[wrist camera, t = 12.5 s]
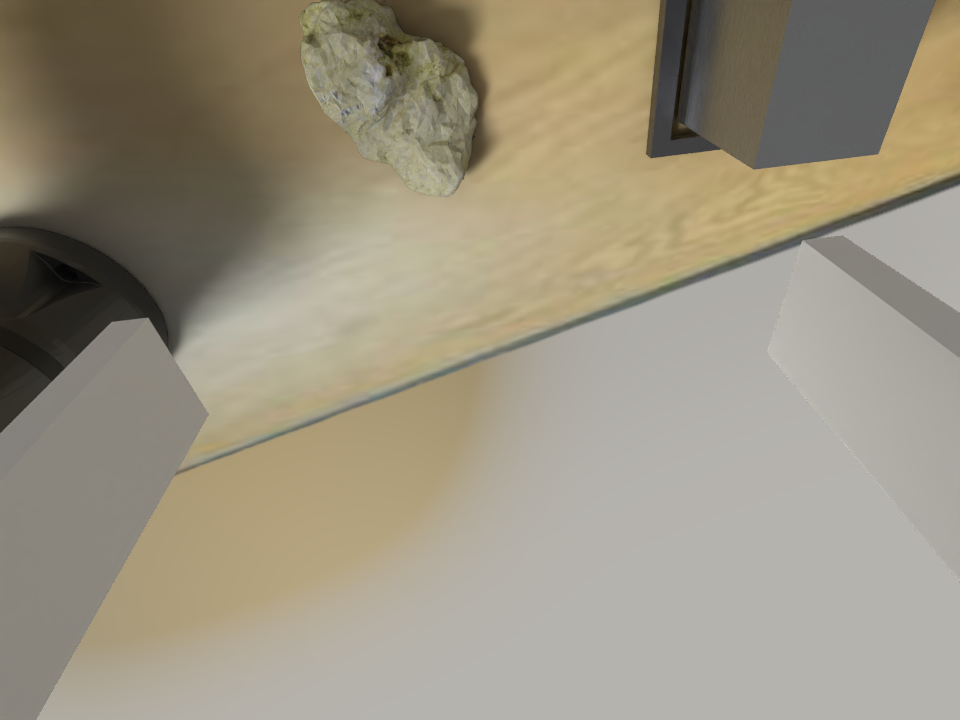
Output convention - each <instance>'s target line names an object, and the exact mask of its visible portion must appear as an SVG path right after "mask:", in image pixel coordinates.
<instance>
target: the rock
mask: <svg viewBox="0 0 960 720" xmlns="http://www.w3.org/2000/svg"><path fill="white" fill-rule="evenodd" d="M300 24H301V26H302V29H303V32H304V36H303V40H302V43H301V59H302V63H303V66H304V69H305V74H306V78H307V83H308V85H309V87H310V89H311V90H312V92H313V94H314V95H315V97H316V98H317V100H318V101H319V103H320V105H321V108H322V110H323V111H324V113H325V114H326V115H327V116H328V117H329V118H331V119H332V120H333V121H335V122H336V123H337V124H338V125H339V126H341V127H342V129H343V130H344V131H345V132H346V133H348V134H349V135H350V136H351V137H352V139H353V141H354V142H355V144H356V146H357V148H358V150H359V152H360V154H361V155H362V156H363V157H364V158H366V159H369V160H375V161H378V162H384V163H387V164H390V165H392V166H393V168H394V169H395V170H396V171H397V172H398V174H399V175H400V176H401V177H402V179H403V181H404V182H405V184H406V186H407V187H408V188H410V189H412V190H414V191H415V192H418V193H421V194H426V195H433V196H439V197H447V196H450V195H452V194H453V193H454V192H455V191H456V190H457V188H458V187H459V185H460V183H461V181H462V179H464V178H463V177H464V175H465V172H466V170H467V168H468V162H469V159H470V156H471V141H472V140H473V138H474V137H475V136H473V132H474V131H475V127H476V125H477V120H476V119H475V117H474V115H475V113H476V110H477V108H478V102H479V101H478V94H477V91H476V90H475V89H474V88H473V87H472V85H471V82H470V77H469V73H468V69H467V67H466V66H464V60H463V59H462V58H461V57H460V56H458V55H457V54H455V53H454V52H453V51H451V50H450V49H449V48H448V47H445V46H444V45H443V44H442V43H441V42H434V41H433V40H432V39H430V38H428V37H422V38H421V37H419V36H412V35H408V34H404V32H403V31H402V30H401V28H400V27H399V25H398V22H397V18H396V16H395V13H394V11H393V10H392V9H391V8H390V7H388V6H387V5H382V6H380V5H379V4H378V3H377V2H375V1H374V0H350V1H348V2H347V3H345V2H343V1H341V0H322V1H321V2H314V3H311V4H310V5H309V6H308V7H307V8H306V10H304V11H302V13H301V15H300Z"/></svg>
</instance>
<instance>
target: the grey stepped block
mask: <svg viewBox="0 0 960 720" xmlns="http://www.w3.org/2000/svg"><path fill="white" fill-rule="evenodd" d="M935 1H936V0H692V4H691V12H690V20H689V28H688V36H687V44H686V52H685V60H684V68H683V75H682V83H681V91H680V99H679V107H678V115H677V121H678V122H680V123H681V124H683V125H684V126H686V127H688V128H689V129H691V130H692V131H694V132H695V133H697V134H699V135H700V136H702V137H703V138H705V139H706V140H708V141H710V142H711V143H713V144H714V145H716V146H717V147H719V148H721V149H722V150H724V151H725V152H727V153H729V154H730V155H732V156H733V157H735V158H736V159H738V160H740V161H741V162H743V163H744V164H746V165H747V166H749V167H751V168H752V169H762V168H770V167H778V166H786V165H794V164H802V163H811V162H819V161H827V160H835V159H843V158H851V157H859V156H867V155H875V154H878V153H879V151H880V148H881V145H882V143H883V140H884V137H885V135H886V132H887V129H888V126H889V124H890V121H891V118H892V116H893V113H894V110H895V108H896V105H897V102H898V100H899V97H900V94H901V92H902V89H903V86H904V84H905V81H906V78H907V76H908V73H909V70H910V68H911V65H912V62H913V59H914V57H915V54H916V51H917V49H918V46H919V43H920V41H921V38H922V35H923V33H924V30H925V27H926V25H927V22H928V19H929V17H930V14H931V11H932V9H933V6H934V3H935Z"/></svg>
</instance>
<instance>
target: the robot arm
mask: <svg viewBox="0 0 960 720" xmlns="http://www.w3.org/2000/svg"><path fill="white" fill-rule="evenodd" d="M167 347H168V335H167V329H166V325H165V322H164V319H163V317H162V315H161V312H160V310H159V309H158V307H157V305H156V304H155V302H154V300H153V299H152V298H151V296H150V295H149V294H148V292H147V291H146V290H145V289H144V288H143V287H142V285H141V284H140V283H139V282H138V281H137V280H136V279H135V278H134V277H133V276H132V275H130V274H129V273H128V272H127V271H126V270H125V269H123V268H122V267H121V266H119V265H118V264H117V263H115V262H114V261H112V260H111V259H109V258H108V257H106V256H105V255H103V254H101V253H100V252H98V251H96V250H94V249H93V248H91V247H89V246H87V245H85V244H82V243H80V242H78V241H75V240H73V239H70V238H68V237H65V236H62V235H59V234H55V233H52V232H48V231H43V230H38V229H32V228H21V227H7V228H0V720H36V719H37V717H38V715H39V714H40V712H41V710H42V708H43V707H44V705H45V703H46V701H47V699H48V697H49V696H50V694H51V692H52V691H53V689H54V687H55V685H56V683H57V682H58V680H59V678H60V677H61V675H62V673H63V671H64V669H65V668H66V666H67V664H68V662H69V661H70V659H71V657H72V655H73V653H74V652H75V650H76V648H77V646H78V645H79V643H80V641H81V639H82V638H83V636H84V634H85V632H86V631H87V629H88V627H89V625H90V623H91V621H92V620H93V618H94V616H95V614H96V613H97V611H98V609H99V607H100V606H101V604H102V602H103V600H104V599H105V597H106V595H107V593H108V592H109V590H110V588H111V586H112V584H113V583H114V581H115V579H116V577H117V576H118V574H119V572H120V570H121V569H122V567H123V565H124V563H125V562H126V560H127V558H128V556H129V555H130V553H131V551H132V549H133V547H134V546H135V544H136V542H137V540H138V539H139V537H140V535H141V533H142V532H143V530H144V528H145V526H146V524H147V523H148V521H149V519H150V517H151V516H152V514H153V512H154V510H155V509H156V507H157V505H158V503H159V501H160V500H161V498H162V496H163V494H164V493H165V491H166V489H167V487H168V486H169V484H170V482H171V480H172V478H173V477H174V475H175V473H176V471H177V470H178V468H179V466H180V464H181V463H182V461H183V459H184V457H185V455H186V454H187V452H188V450H189V448H190V447H191V445H192V443H193V441H194V440H195V438H196V436H197V434H198V433H199V431H200V429H201V427H202V425H203V424H204V422H205V420H206V418H207V417H208V415H209V414H208V412H207V411H206V409H205V408H204V406H203V404H202V403H201V401H200V400H199V398H198V396H197V395H196V393H195V392H194V390H193V388H192V387H191V385H190V384H189V382H188V380H187V379H186V377H185V376H184V374H183V372H182V371H181V369H180V368H179V366H178V364H177V363H176V361H175V360H174V358H173V357H172V355H171V353H170V352H169V350H168V349H167ZM767 353H768V354H769V355H770V357H771V358H772V359H773V360H774V361H775V363H776V364H777V365H778V366H779V367H780V369H781V370H782V371H783V372H784V373H785V375H786V376H787V377H788V378H789V379H790V381H791V382H792V383H793V384H794V385H795V386H796V388H797V389H798V390H799V391H800V392H801V394H802V395H803V396H804V397H805V398H806V400H807V401H808V402H809V403H810V404H811V405H812V407H813V408H814V409H815V410H816V411H817V413H818V414H819V415H820V416H821V417H822V419H823V420H824V421H825V422H826V423H827V425H828V426H829V427H830V428H831V429H832V431H833V432H834V433H835V434H836V435H837V437H838V438H839V439H840V440H841V441H842V443H843V444H844V445H845V446H846V447H847V449H848V450H849V451H850V452H851V453H852V454H853V456H854V457H855V458H856V459H857V460H858V462H859V463H860V464H861V465H862V466H863V468H864V469H865V470H866V471H867V472H868V474H869V475H870V476H871V477H872V478H873V479H874V481H875V482H876V483H877V484H878V485H879V487H880V488H881V489H882V490H883V491H884V493H885V494H886V495H887V496H888V497H889V499H890V500H891V501H892V502H893V503H894V505H895V506H896V507H897V508H898V509H899V511H900V512H901V513H902V514H903V515H904V517H905V518H906V519H907V520H908V521H909V522H910V524H911V525H912V526H913V527H914V528H915V530H917V532H918V533H919V534H920V536H921V537H922V538H923V539H924V540H925V542H926V543H927V544H928V545H929V546H930V548H931V549H932V550H933V551H934V552H935V553H936V555H937V556H938V557H939V558H940V559H941V561H942V562H943V563H944V564H945V565H946V566H947V568H948V569H949V570H950V571H951V573H952V574H953V575H954V576H955V577H956V579H957V580H958V581H959V582H960V313H959V312H958V311H956V310H955V309H953V308H952V307H950V306H949V305H947V304H945V303H944V302H942V301H941V300H939V299H938V298H936V297H935V296H933V295H932V294H930V293H929V292H927V291H926V290H924V289H923V288H921V287H920V286H918V285H917V284H915V283H914V282H912V281H911V280H909V279H908V278H906V277H904V276H903V275H901V274H900V273H899V272H897V271H895V270H894V269H892V268H891V267H889V266H888V265H886V264H885V263H883V262H882V261H880V260H879V259H877V258H876V257H874V256H873V255H871V254H870V253H868V252H867V251H865V250H863V249H862V248H861V247H859V246H858V245H856V244H854V243H853V242H852V241H850V240H848V239H847V238H845V237H844V236H836V237H827V238H818V239H810V240H802V243H801V247H800V250H799V253H798V256H797V259H796V263H795V266H794V269H793V272H792V275H791V279H790V282H789V285H788V288H787V291H786V294H785V297H784V301H783V304H782V307H781V310H780V313H779V316H778V320H777V323H776V326H775V329H774V332H773V336H772V339H771V342H770V345H769V348H768V352H767Z"/></svg>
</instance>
